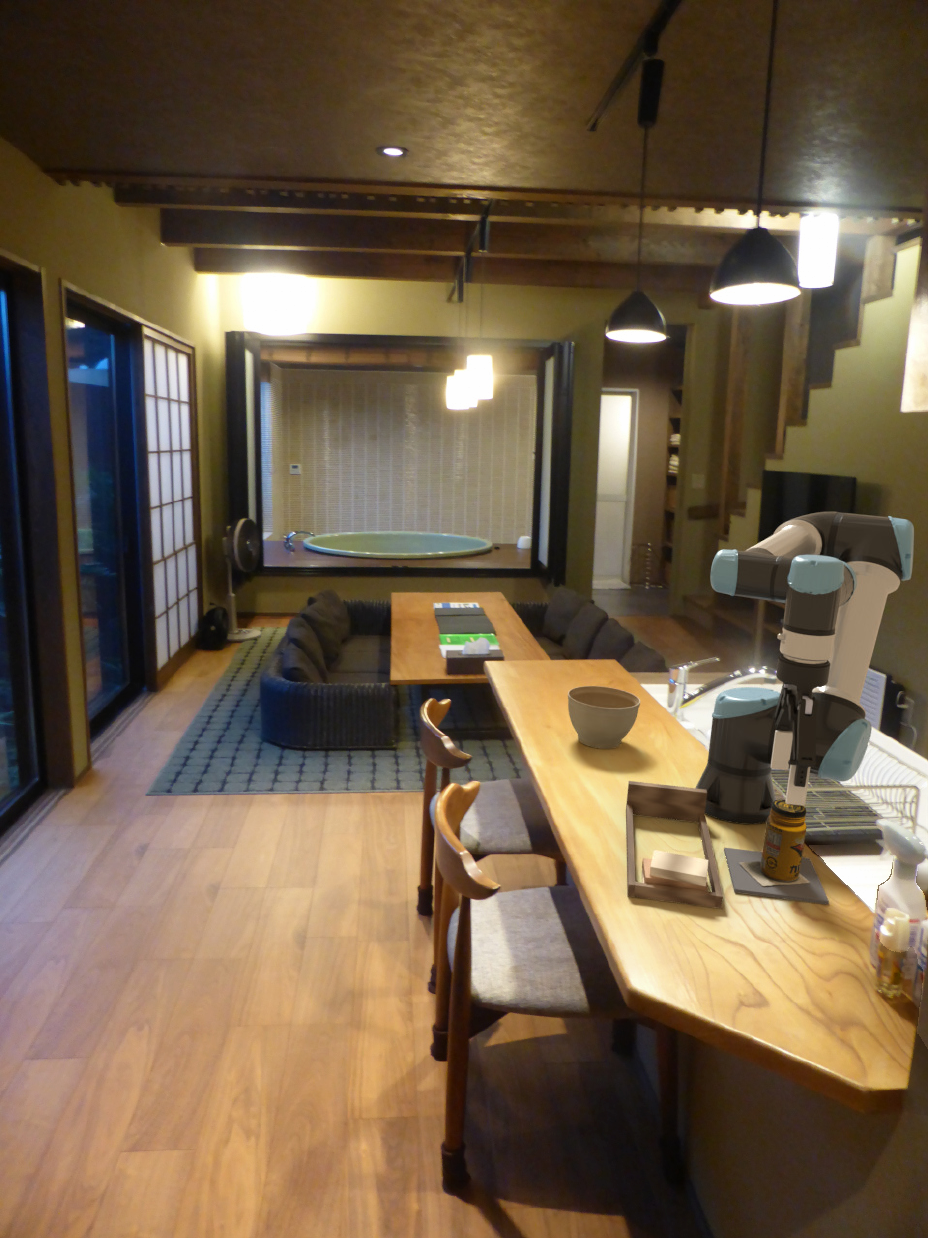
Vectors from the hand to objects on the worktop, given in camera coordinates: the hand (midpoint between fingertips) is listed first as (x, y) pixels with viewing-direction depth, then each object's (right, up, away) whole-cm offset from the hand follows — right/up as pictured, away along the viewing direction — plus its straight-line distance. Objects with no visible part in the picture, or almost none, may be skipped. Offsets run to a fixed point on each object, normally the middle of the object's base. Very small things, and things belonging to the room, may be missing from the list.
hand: (786, 785), depth 139 cm
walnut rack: (-17, -13, +9) cm, 23 cm away
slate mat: (-1, -15, +3) cm, 16 cm away
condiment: (-1, -15, +3) cm, 15 cm away
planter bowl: (-20, -2, +60) cm, 63 cm away
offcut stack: (-18, -16, -2) cm, 24 cm away
